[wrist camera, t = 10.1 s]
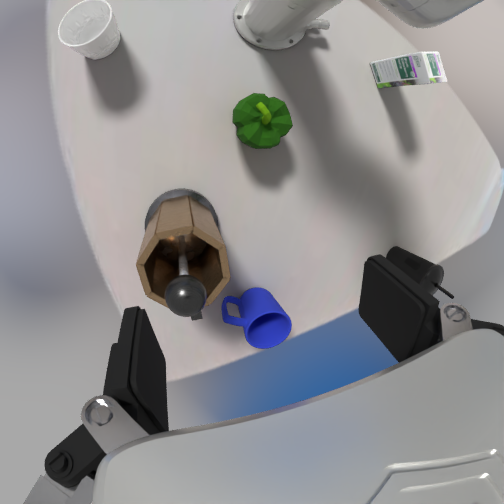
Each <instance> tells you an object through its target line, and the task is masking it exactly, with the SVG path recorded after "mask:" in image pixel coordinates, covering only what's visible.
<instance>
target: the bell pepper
mask: <svg viewBox="0 0 504 504" xmlns="http://www.w3.org/2000/svg"><path fill="white" fill-rule="evenodd" d="M233 124H235V125H236V126H237V127H238V128H237V136H238V138H239V139H240V140H241V142H243V143H245V144H246V145H248V146H250V147H252V148H255V149H262V148H272V147H274V146H276V145H278V144H279V143H280V137H282V136H285V135H286V134H287V133H288V132H289V130H290V129H291V128H292V126H293V125H292V121H291V117H290V113H289V111H288V109H287V106H286V104H285V102H283V101H281V100H279V99H277V98H275V97H271V98H268V97H267V96H266V95H265V94H257V93H253V94H251V95H250V96H248V97H246V98H244V99H242V100H241V101H239V102H238V104H237V105H236V107H235V108H234V110H233Z"/></svg>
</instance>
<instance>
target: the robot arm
mask: <svg viewBox="0 0 504 504" xmlns="http://www.w3.org/2000/svg"><path fill="white" fill-rule="evenodd" d="M341 1H343V0H240V1H239V2H238V3H237V5H236V7H235V9H234V13H233V20H234V24H235V27H236V29H237V30H238V32H239V33H240V34H241V36H242V37H243V38H244V39H246V40H247V41H248V42H250V43H252V44H253V45H255V46H258V47H260V48H264V49H269V50H282V49H286V48H289V47H291V46H293V45H295V44H296V43H297V42H299V41H300V40H301V39H302V37H303V36H304V34H305V31H306V29H312V28H318V29H325V30H327V29H329V26H330V24H329V21H328V20H321V19H316V18H318V17H319V16H321V15H322V14H324V13H325V12H327V11H328V10H330V9H331V8H333V7H334V6H336V5H337V4H339V3H340V2H341ZM376 1H377V2H379V3H380V4H381V5H382V6H384V7H385V8H386V9H388V10H389V11H390V12H392V13H393V14H394V15H395V16H396V17H398V18H399V19H400V20H402V21H403V22H405V23H406V24H408V25H410V26H413V27H416V28H431V27H435V26H437V25H440V24H442V23H444V22H446V21H448V20H450V19H452V18H453V17H455V16H457V15H459V14H460V13H462V12H464V11H465V10H467V9H469V8H471V7H473V6H474V5H476V4H478V3H480V2H482V1H484V0H376ZM237 18H239V19H237ZM257 41H258V42H259V43H258V42H257ZM289 42H290V43H289ZM438 305H439V301H438V300H437V299H436V298H434V297H433V296H432V295H431V294H430V293H429V292H427V291H426V290H425V289H424V288H423V287H421V286H420V285H419V284H418V283H417V282H415V281H414V280H413V279H412V278H410V277H409V276H408V275H407V274H405V273H404V272H403V271H402V270H400V269H399V268H398V267H396V266H395V265H394V264H393V263H391V262H390V261H389V260H387V259H386V258H385V257H383V256H382V255H375V256H371V257H369V258H368V259H367V261H366V262H365V264H364V273H363V281H362V289H361V296H360V303H359V314H360V316H361V318H362V319H363V320H364V321H365V323H367V325H368V326H369V327H370V328H371V329H372V331H373V332H374V333H375V334H376V335H377V337H378V338H379V339H380V340H381V342H382V343H383V344H384V345H385V346H386V348H387V349H388V350H389V351H390V352H391V354H392V355H393V356H394V357H395V358H396V360H397V361H398V362H399V363H398V364H396V365H393V366H391V367H389V368H387V369H385V370H383V371H380V372H378V373H376V374H373V375H371V376H368V377H366V378H364V379H361V380H359V381H356V382H354V383H351V384H349V385H346V386H343V387H341V388H338V389H336V390H333V391H330V392H327V393H324V394H321V395H318V396H316V397H313V398H309V399H307V400H303V401H300V402H297V403H293V404H290V405H287V406H283V407H280V408H276V409H273V410H269V411H265V412H261V413H257V414H253V415H249V416H244V417H240V418H236V419H231V420H226V421H221V422H217V423H211V424H206V425H201V426H195V427H189V428H183V429H179V430H172V431H169V427H168V412H167V392H166V391H167V390H166V362H165V358H164V355H163V353H162V350H161V348H160V346H159V343H158V341H157V338H156V336H155V334H154V331H153V329H152V326H151V324H150V321H149V318H148V316H147V313H146V311H145V309H140V307H139V306H136V307H131V308H126V309H125V310H124V314H123V319H122V323H121V328H120V334H119V338H118V343H114V344H113V345H112V347H111V351H110V357H109V362H108V368H107V373H106V379H105V385H104V391H103V395H100V396H96V397H93V398H92V399H90V400H89V401H88V402H86V403H85V405H84V407H83V408H82V412H81V419H82V422H83V424H82V425H81V426H80V427H78V428H77V429H76V430H75V431H74V432H73V433H71V434H70V435H69V436H68V437H67V438H66V439H64V440H63V441H62V442H61V443H60V444H59V445H57V446H56V447H55V448H54V449H52V450H51V451H50V452H49V453H48V455H47V457H46V459H45V470H46V474H45V476H44V477H43V476H42V475H40V477H39V479H38V480H37V482H36V484H35V485H34V487H33V488H32V490H31V492H30V494H29V495H28V497H27V498H26V500H25V502H24V504H91V502H92V501H93V502H92V503H93V504H504V326H502V325H500V324H495V323H490V322H484V321H478V320H473V319H471V318H470V315H469V312H468V311H467V310H466V309H465V308H464V307H463V306H461V305H459V304H456V303H447V304H444V305H443V306H442V307H441V309H439V308H438Z"/></svg>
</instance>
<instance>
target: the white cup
mask: <svg viewBox="0 0 504 504" xmlns="http://www.w3.org/2000/svg"><path fill="white" fill-rule="evenodd" d="M58 36H59V39H60V41H61V42H62V43H63V44H64V45H66V46H68V47H69V48H71V49H73V50H74V51H76V52H78V53H80V54H81V55H83V56H86V57H87V58H90V59H94V60H96V59H101V58H104V57H106V56H108V55H110V54H111V53H112V52H113V51H114V50H115V49H116V48H117V47H118V44H119V41H120V39H121V38H120V31H119V28H118V24H117V21H116V19H115V16H114V14H113V11H112V8H111V6H110V4H109V3H108V2H106V1H105V0H86V1H83V2H81V3H79V4H77V5H75V6H74V7H73V8H71V9H70V10H69V11H68V12H67V13H66V15H65V16H64V17H63V19H62V21H61V23H60V25H59V29H58Z"/></svg>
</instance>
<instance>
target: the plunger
mask: <svg viewBox="0 0 504 504" xmlns="http://www.w3.org/2000/svg"><path fill="white" fill-rule="evenodd" d="M206 244H207V242H205V241H204V240H202V239H201V238H199V237H197V236H196V235H194V234H193V233H190V234H185V235H180V236H175V237H170V238H165V239H161V240H159V241H158V243H157V246H158V248H159V250H160V251H161V252H162V253H163V254H164V255H165V256H166V257H167V258H169V259H171V260H174V261H179V276H176V277H175V278H173V279H172V280H171V281H170V282H169V283H168V285H167V287H166V290H165V301H166V304H167V306H168V307H169V309H170V310H171V311H172V312H173V313H175V314H177V315H179V316H183V317H189V316H193V315H195V314H197V313H199V312H200V311H201V310H202V309H203V307H204V305H205V303H206V299H207V293H206V289H205V287H204V285H203V283H202V282H201V281H200V280H199V279H198V278H196V277H194V276H192V275H189V273H188V263H187V261H188V260H191V259H194V258H196V257H197V256H198V255H199V254H201V252H202V251H203V250H204V248H205V246H206Z"/></svg>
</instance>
